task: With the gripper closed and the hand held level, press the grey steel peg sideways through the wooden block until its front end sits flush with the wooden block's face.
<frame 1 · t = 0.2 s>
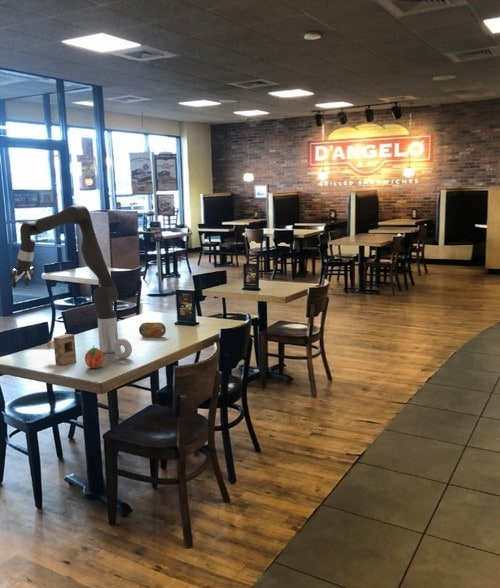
hand: (20, 286, 313), 31 cm above the table, tool tilted 20°, fingers open, 8 cm apart
donut: (123, 359, 279), on the table
tin: (153, 337, 321), on the table
wooden block: (62, 362, 276), on the table
fruit: (95, 368, 265), on the table
peg: (57, 345, 276), point 8 cm above the table, slide at 7.0 cm
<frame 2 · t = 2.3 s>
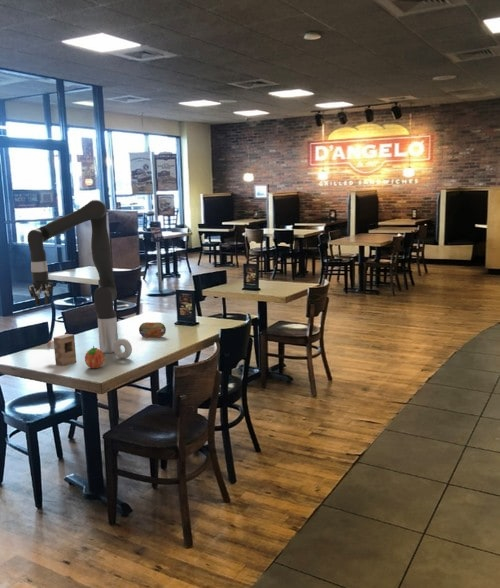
hand: (42, 304, 287), 25 cm above the table, tool pointing down, fingers open, 4 cm apart
nothing on the table moved.
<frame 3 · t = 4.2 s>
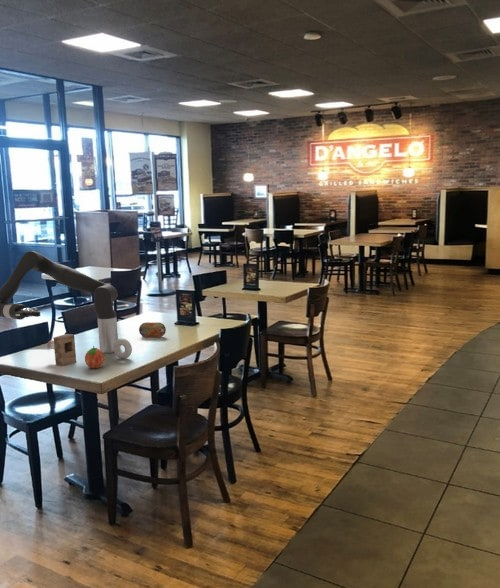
hand: (39, 314, 279), 22 cm above the table, tool horizontal, fingers closed
nothing on the table moved.
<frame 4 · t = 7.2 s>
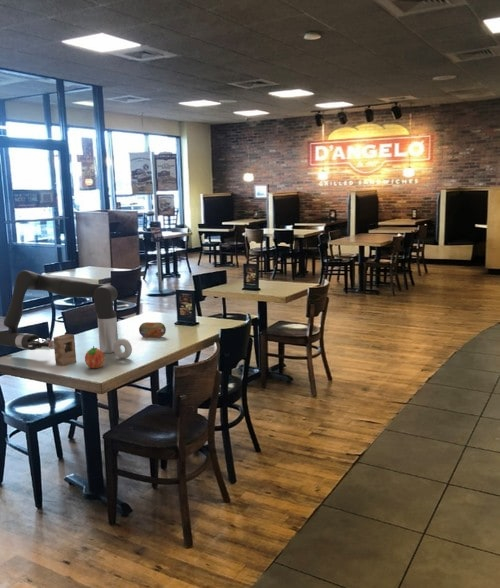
hand: (51, 344, 278), 8 cm above the table, tool horizontal, fingers closed
peg: (58, 345, 275), point 8 cm above the table, slide at 6.3 cm, touching gripper
everything else where it was.
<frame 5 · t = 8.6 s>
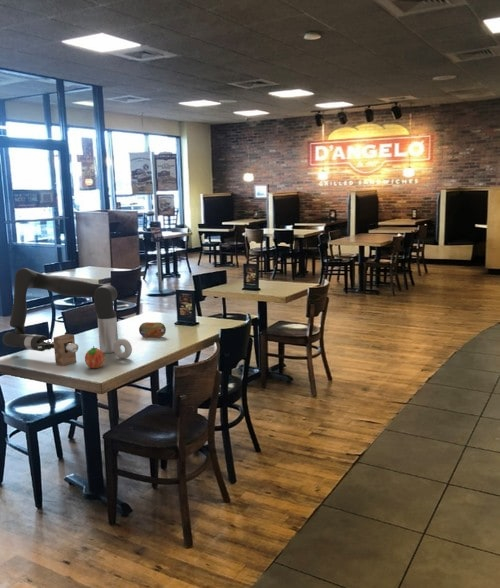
hand: (61, 346, 274), 8 cm above the table, tool horizontal, fingers closed
peg: (68, 347, 272), point 8 cm above the table, slide at -0.3 cm, touching gripper
everything else where it was.
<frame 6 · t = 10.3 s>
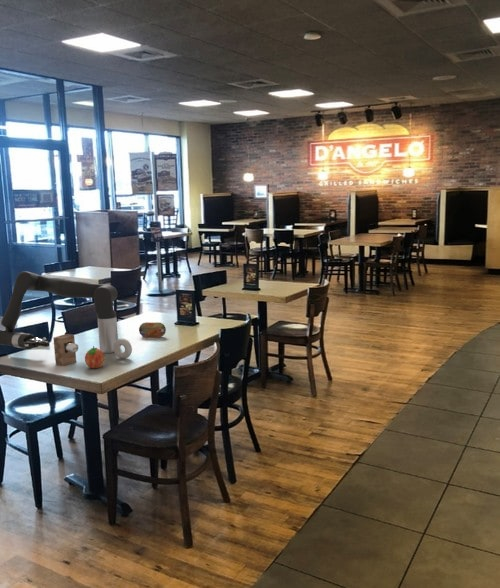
hand: (48, 344, 279), 8 cm above the table, tool horizontal, fingers closed
peg: (68, 347, 272), point 8 cm above the table, slide at -0.3 cm
everything else where it was.
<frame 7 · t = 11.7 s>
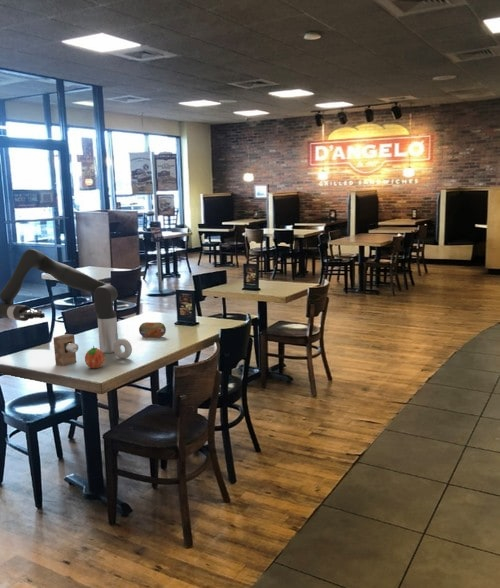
hand: (43, 315, 277), 22 cm above the table, tool horizontal, fingers closed
nothing on the table moved.
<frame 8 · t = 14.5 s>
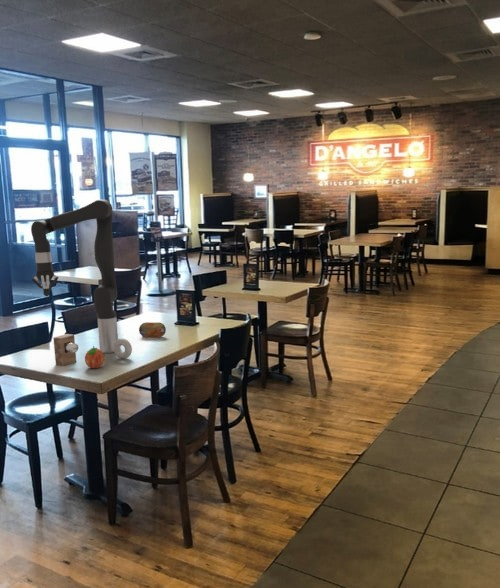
hand: (47, 295, 291), 29 cm above the table, tool pointing down, fingers closed
nothing on the table moved.
at the end: peg slide at -0.3 cm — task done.
